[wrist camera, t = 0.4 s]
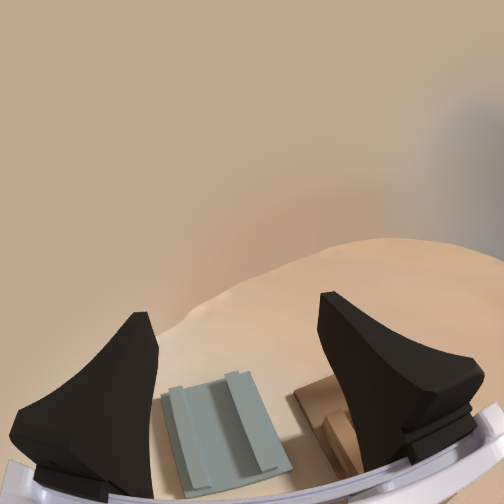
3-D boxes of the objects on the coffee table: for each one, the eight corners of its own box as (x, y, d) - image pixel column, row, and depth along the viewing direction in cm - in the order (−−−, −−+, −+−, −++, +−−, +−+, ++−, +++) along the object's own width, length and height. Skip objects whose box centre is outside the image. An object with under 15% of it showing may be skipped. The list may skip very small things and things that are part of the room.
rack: (292, 470, 21) (294, 465, 19) (188, 498, 18) (180, 496, 17) (250, 375, 30) (248, 363, 28) (163, 398, 28) (155, 387, 26)
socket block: (453, 494, 14) (475, 486, 12) (378, 547, 12) (394, 549, 10) (364, 362, 30) (373, 342, 27) (293, 393, 28) (296, 375, 25)
